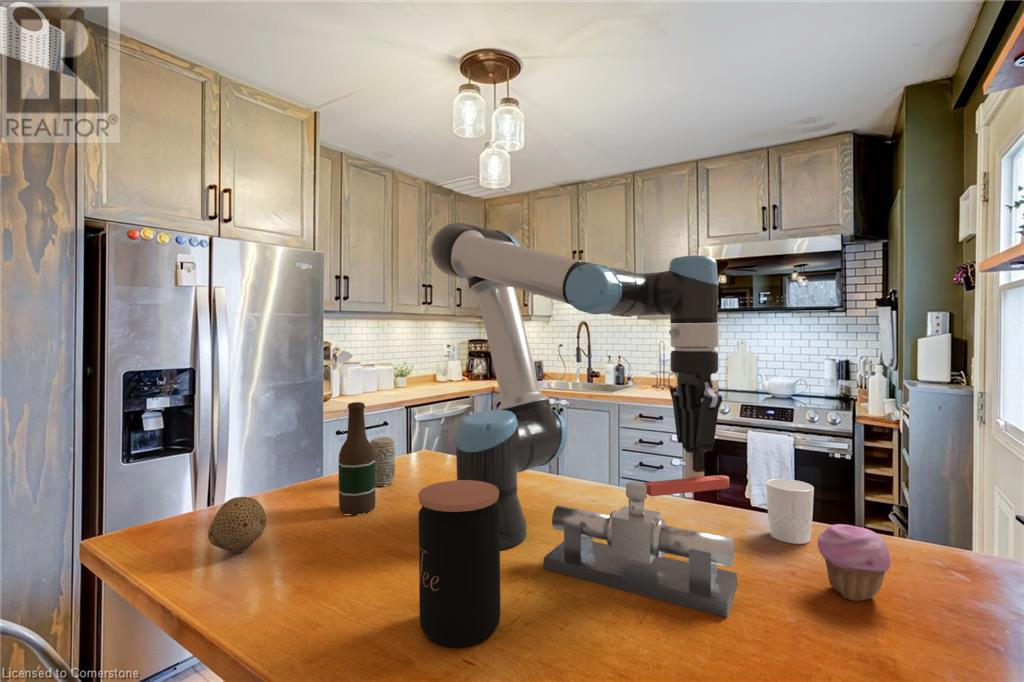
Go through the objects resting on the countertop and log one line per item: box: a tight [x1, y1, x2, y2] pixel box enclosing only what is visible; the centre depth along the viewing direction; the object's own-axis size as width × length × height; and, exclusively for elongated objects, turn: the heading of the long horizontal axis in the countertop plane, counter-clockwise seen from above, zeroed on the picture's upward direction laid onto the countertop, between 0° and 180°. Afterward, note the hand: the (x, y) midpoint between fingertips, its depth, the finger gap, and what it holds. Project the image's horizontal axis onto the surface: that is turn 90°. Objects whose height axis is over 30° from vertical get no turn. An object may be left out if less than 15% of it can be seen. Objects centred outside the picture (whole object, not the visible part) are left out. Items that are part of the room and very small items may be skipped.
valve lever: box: [625, 474, 730, 500], centre depth 81 cm, size 19×3×2 cm, turn 106°
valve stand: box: [543, 498, 738, 618], centre depth 79 cm, size 28×10×12 cm, turn 59°
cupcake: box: [817, 523, 891, 602], centre depth 73 cm, size 9×9×10 cm
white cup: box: [765, 478, 815, 545], centre depth 94 cm, size 8×8×10 cm
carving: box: [370, 436, 396, 487], centre depth 131 cm, size 6×8×12 cm
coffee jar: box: [418, 479, 501, 649], centre depth 66 cm, size 11×11×18 cm
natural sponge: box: [207, 496, 268, 554], centre depth 89 cm, size 9×9×10 cm
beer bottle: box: [338, 401, 376, 515], centre depth 111 cm, size 8×8×24 cm
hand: (694, 489), depth 84 cm, fingers closed
